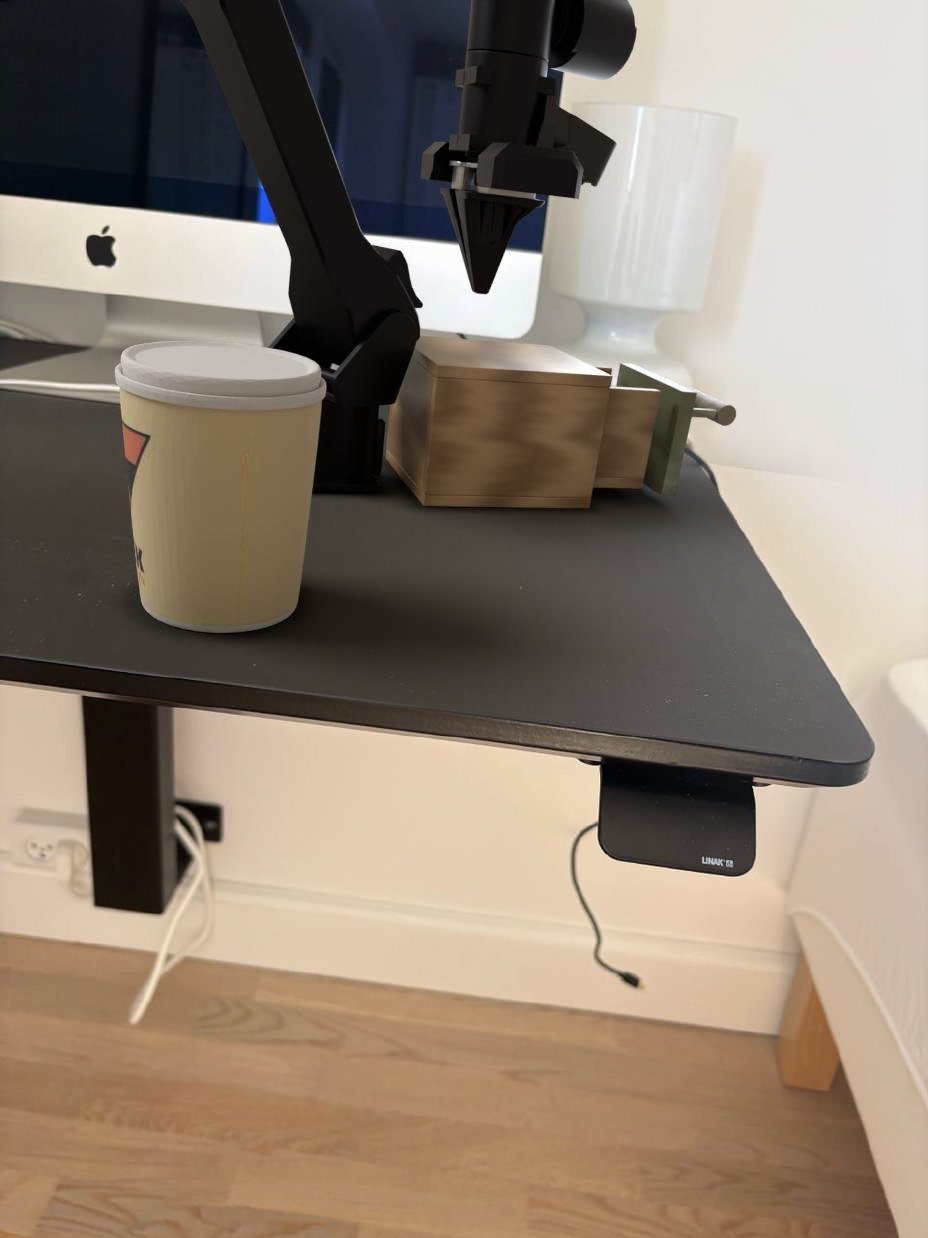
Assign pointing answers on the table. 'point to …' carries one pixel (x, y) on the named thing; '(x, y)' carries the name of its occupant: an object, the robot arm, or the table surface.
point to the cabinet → (497, 425)
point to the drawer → (650, 429)
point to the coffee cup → (219, 478)
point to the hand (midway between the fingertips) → (480, 293)
